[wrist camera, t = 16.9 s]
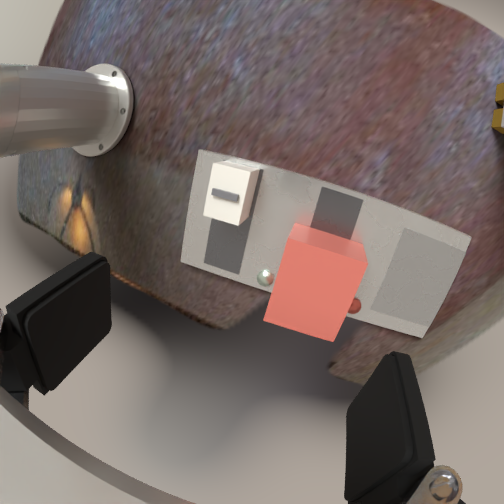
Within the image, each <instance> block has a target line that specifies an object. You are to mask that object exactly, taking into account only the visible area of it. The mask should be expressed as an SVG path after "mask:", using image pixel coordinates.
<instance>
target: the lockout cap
mask: <svg viewBox="0 0 504 504" xmlns="http://www.w3.org/2000/svg"><path fill="white" fill-rule="evenodd" d="M367 266H368V261H367V257H366V253H365V250H364V246H363V244H361V243H358V242H355V241H352V240H349V239H346V238H342V237H339V236H336V235H333V234H330V233H327V232H324V231H320V230H317V229H314V228H311V227H308V226H304V225H301V224H298V223H295V224H294V226H293V228H292V230H291V232H290V234H289V236H288V239H287V242H286V246H285V249H284V253H283V256H282V260H281V263H280V267H279V270H278V273H277V277H276V280H275V284H274V287H273V290H272V294H271V297H270V300H269V304H268V307H267V311H266V313H265V317H264V321H267V322H270V323H273V324H276V325H279V326H282V327H285V328H288V329H291V330H295V331H298V332H301V333H304V334H307V335H311V336H314V337H317V338H321V339H324V340H328V341H331V342H334V340H335V338H336V336H337V333H338V332H339V329H340V327H341V325H342V323H343V321H344V319H345V317H346V315H347V312H348V310H349V308H350V306H351V303H352V301H353V299H354V297H355V294H356V292H357V290H358V287H359V285H360V283H361V280H362V278H363V275H364V273H365V271H366V268H367Z"/></svg>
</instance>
